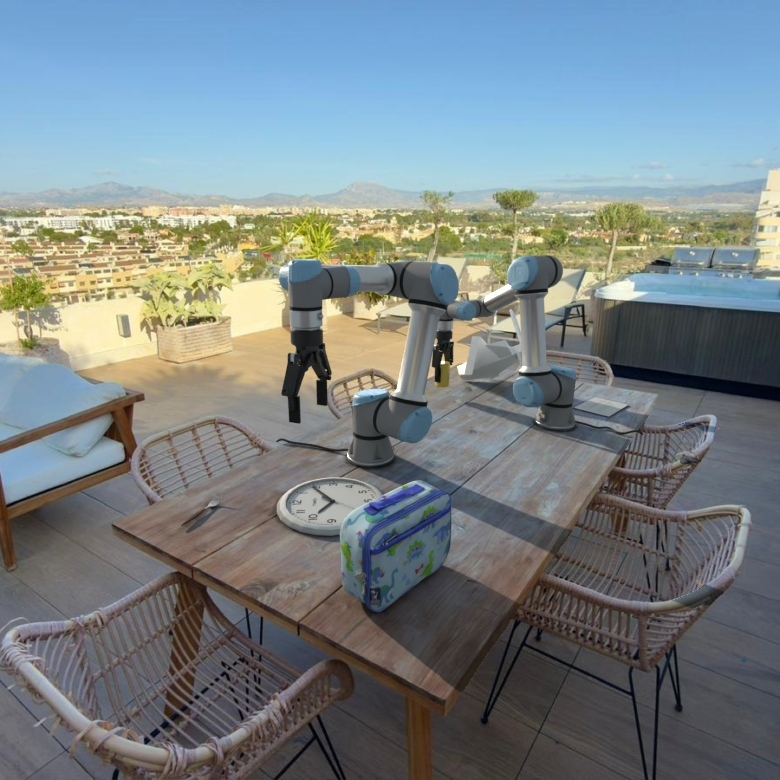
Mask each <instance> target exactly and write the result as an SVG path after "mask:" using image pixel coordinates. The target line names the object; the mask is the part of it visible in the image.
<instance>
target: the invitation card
mask: <svg viewBox="0 0 780 780" xmlns="http://www.w3.org/2000/svg"><path fill="white" fill-rule="evenodd" d="M628 406H629V404H627V403H623V402H618V401H614V400H609V399H605V398H601V397H596V396H593V397H592V398H590V399H588V400H586V401H584V402H582V403H580V404H578V405H575V406H574V407H573V409H575V410H581V411H584V412H587V413H593V414H596V415H600V416H604V417H608V418H609V417H611V416H613V415H614V414H616V413H617V412H619V411H621V410H623V409H624V408H626V407H628Z"/></svg>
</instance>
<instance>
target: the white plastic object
mask: <svg viewBox="0 0 780 780" xmlns="http://www.w3.org/2000/svg"><path fill="white" fill-rule="evenodd" d="M508 311H509V314H510V317H511V320H512V324H513V327H514V330H515V333H516V337H517V340H518V342H519V344H516V345H514V346H512V345H510V344H509V343H508V341H507V340H506V339H503V340H499V341H493V342H490V343H487V342H486V341H485V340H484V339H483V337H482V336H481V335H472V337H471V340H470V345H469V350H468V355H467V359H466V361H465V362H464V363H462V364H459V365H457V366H456V368H457V372H458V376H459V377H460V379H461V380H462V381H473V380H480V379H490V380H492V379H496V378H497V377H498V378H499V377H500V374H502V372H504V371H506V370H507V369H508V368H510V367H511V366H512V365H514V364H515V363H517V362H519V366H520V368H521V367H522V344H521V327H520V325H519V323H518V319H517V316H516V313H515V312H514V310H513V309H512V308H510V309H508Z"/></svg>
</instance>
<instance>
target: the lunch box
mask: <svg viewBox="0 0 780 780" xmlns="http://www.w3.org/2000/svg"><path fill="white" fill-rule="evenodd" d="M383 494H384V495H382V496H380V497H378V498H376V499H374V500H372V501H370V502H368V503H366V504H364V505H362V506H360V507H358V508H356V509H354V510H353V511H351V512H350V513H349V514H348V515H347V516H346V518H345V519H344V521H343V523H342V526H341V530H340V535H339V551H340V574H341V576H340V577H341V585H342V588H343V589H342V590H343V591H344V593H346V594H348V595H350V596H352V597H353V598H355V599H357V600H358V601H359V602H361V603H362V604H364V605H365V606H366V608H367V609H369V610H370V611H371V612H374V613H381V612H384V611H385V610H386V609H387V608H389V607H390V606H391V605H392V604H393V603H395V602H396V601H397V600H399V599H400V598H401V597H402V596H404V595H405V594H407V593H408V592H410V591H411V590H412V589H413V588H415V587H416V586H417V585H418V584H419V583H420V582H421V581H423V580H425V579H426V578H427V577H429V576H430V575H432V574H434V573H435V572H436V571H438V570H439V569H440V568H441V567H442V566H443V565H444V563H445V562H446V560H447V558H448V556H449V553H450V550H451V549H450V548H451V545H452V543H451V542H452V497H451V494H450V492H449V491H448V490H446V489H438V488H437V487H435V486H434V485H431V484H429V483H427V482H426V481H424V480H421V479H416V480H413V481H410V482H408V483H405V484H403V485H401V486H399V487H397V488H394V489H393V490H390V491H388V492H387V493H383Z"/></svg>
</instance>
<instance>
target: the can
mask: <svg viewBox="0 0 780 780" xmlns="http://www.w3.org/2000/svg"><path fill="white" fill-rule="evenodd" d="M440 368H441V383H438V382H435V381H434V386H435V387H436V388H448V387H449V386H450V375H449V369H450V370H451V365H450V362H448V361H445V360H442V361H441V365H440Z"/></svg>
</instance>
